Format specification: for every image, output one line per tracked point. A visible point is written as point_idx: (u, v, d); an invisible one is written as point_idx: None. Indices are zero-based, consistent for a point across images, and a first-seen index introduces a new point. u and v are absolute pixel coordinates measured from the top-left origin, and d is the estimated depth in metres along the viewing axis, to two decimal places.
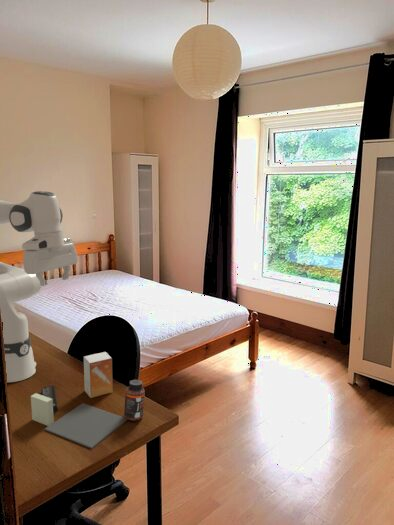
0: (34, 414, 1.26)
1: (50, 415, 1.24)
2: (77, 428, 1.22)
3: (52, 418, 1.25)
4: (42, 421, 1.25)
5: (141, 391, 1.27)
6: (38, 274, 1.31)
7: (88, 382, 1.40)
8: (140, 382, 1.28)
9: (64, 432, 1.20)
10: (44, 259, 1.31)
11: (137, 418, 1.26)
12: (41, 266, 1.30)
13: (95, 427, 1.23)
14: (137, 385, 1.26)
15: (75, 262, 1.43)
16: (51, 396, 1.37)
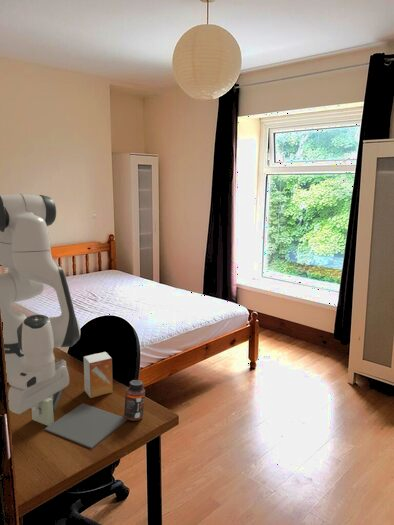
0: None
1: (50, 415, 1.24)
2: (77, 428, 1.22)
3: (52, 418, 1.25)
4: (42, 421, 1.25)
5: (141, 391, 1.27)
6: (33, 405, 1.22)
7: (88, 382, 1.40)
8: (140, 382, 1.28)
9: (64, 432, 1.20)
10: (32, 394, 1.19)
11: (137, 418, 1.26)
12: (28, 403, 1.18)
13: (95, 427, 1.23)
14: (137, 385, 1.26)
15: (66, 385, 1.31)
16: (53, 396, 1.37)
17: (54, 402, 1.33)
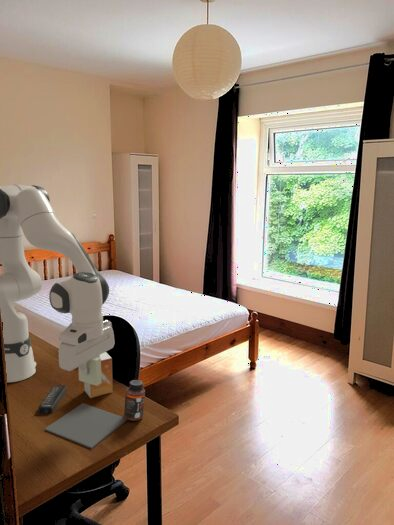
0: (81, 374, 1.24)
1: (98, 375, 1.22)
2: (77, 428, 1.22)
3: (100, 378, 1.23)
4: (90, 381, 1.22)
5: (141, 391, 1.27)
6: (81, 364, 1.19)
7: None
8: (140, 382, 1.28)
9: (64, 432, 1.20)
10: (81, 352, 1.17)
11: (137, 418, 1.26)
12: (78, 361, 1.16)
13: (95, 427, 1.23)
14: (137, 385, 1.26)
15: (112, 346, 1.29)
16: (54, 396, 1.37)
17: (53, 402, 1.33)
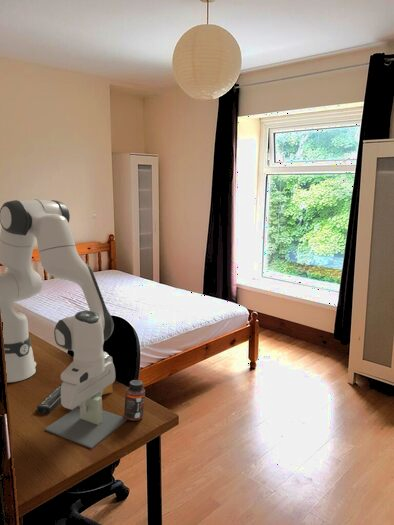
0: None
1: (99, 414, 1.24)
2: (77, 428, 1.22)
3: (101, 417, 1.25)
4: (91, 419, 1.25)
5: (141, 391, 1.27)
6: None
7: None
8: (140, 382, 1.28)
9: (64, 432, 1.20)
10: (83, 390, 1.19)
11: (137, 418, 1.26)
12: (79, 399, 1.18)
13: (95, 427, 1.23)
14: (137, 385, 1.26)
15: (113, 381, 1.31)
16: (55, 397, 1.37)
17: (52, 403, 1.33)
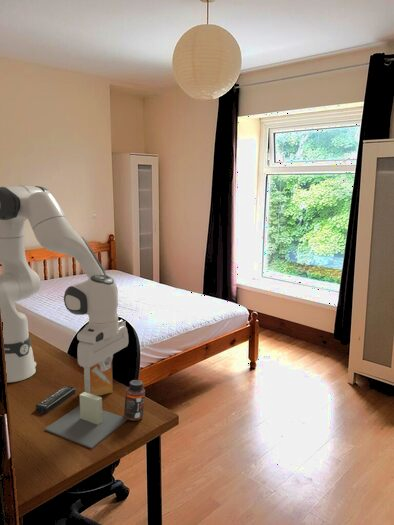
0: (83, 413, 1.26)
1: (99, 414, 1.24)
2: (77, 428, 1.22)
3: (101, 417, 1.25)
4: (91, 419, 1.25)
5: (141, 391, 1.27)
6: (100, 360, 1.27)
7: (88, 382, 1.40)
8: (140, 382, 1.28)
9: (64, 432, 1.20)
10: (98, 350, 1.23)
11: (137, 418, 1.26)
12: (95, 359, 1.22)
13: (95, 427, 1.23)
14: (137, 385, 1.26)
15: (126, 345, 1.35)
16: (56, 397, 1.36)
17: (51, 403, 1.33)
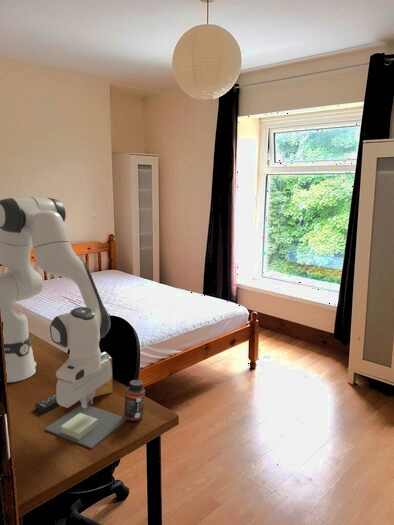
0: None
1: (90, 427, 1.21)
2: None
3: (94, 423, 1.22)
4: None
5: (141, 391, 1.27)
6: None
7: None
8: (140, 382, 1.28)
9: None
10: (79, 387, 1.17)
11: (137, 418, 1.26)
12: (75, 397, 1.16)
13: (95, 427, 1.23)
14: (137, 385, 1.26)
15: (109, 379, 1.29)
16: None
17: (50, 403, 1.33)
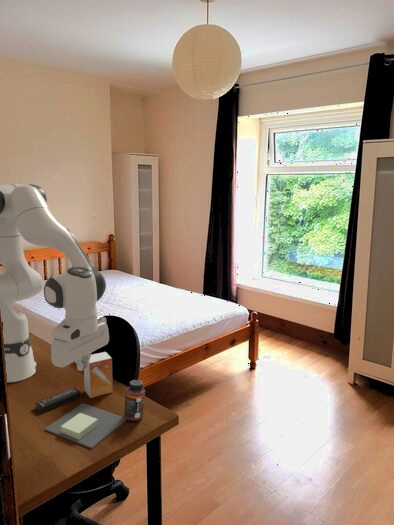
0: None
1: (90, 427, 1.21)
2: None
3: (94, 423, 1.22)
4: None
5: (141, 391, 1.27)
6: (77, 359, 1.18)
7: (88, 382, 1.40)
8: (140, 382, 1.28)
9: None
10: (75, 348, 1.14)
11: (137, 418, 1.26)
12: (70, 357, 1.13)
13: (95, 427, 1.23)
14: (137, 385, 1.26)
15: (106, 343, 1.26)
16: (57, 398, 1.36)
17: (49, 404, 1.32)
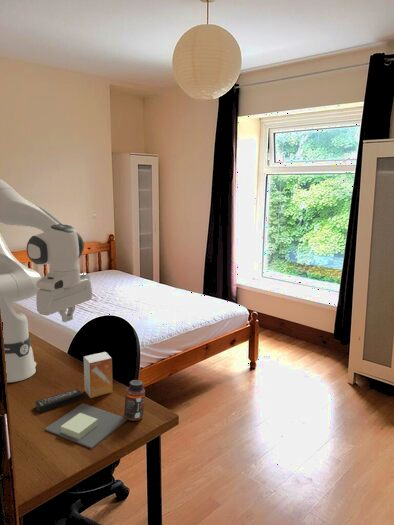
0: None
1: (90, 427, 1.21)
2: None
3: (94, 423, 1.22)
4: None
5: (141, 391, 1.27)
6: (61, 310, 1.26)
7: (88, 382, 1.40)
8: (140, 382, 1.28)
9: None
10: (59, 299, 1.23)
11: (137, 418, 1.26)
12: (55, 307, 1.22)
13: (95, 427, 1.23)
14: (137, 385, 1.26)
15: (89, 298, 1.35)
16: (58, 399, 1.35)
17: (48, 404, 1.32)
